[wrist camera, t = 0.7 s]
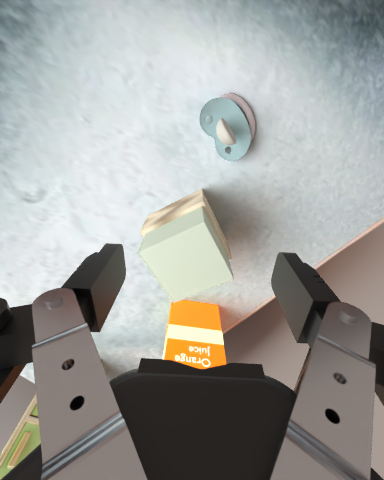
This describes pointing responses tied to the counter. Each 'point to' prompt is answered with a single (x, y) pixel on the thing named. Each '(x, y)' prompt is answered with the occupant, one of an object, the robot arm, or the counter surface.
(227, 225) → the counter surface
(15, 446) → the toy refrigerator
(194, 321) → the orange juice
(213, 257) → the sage block
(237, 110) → the pacifier
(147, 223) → the maple block
